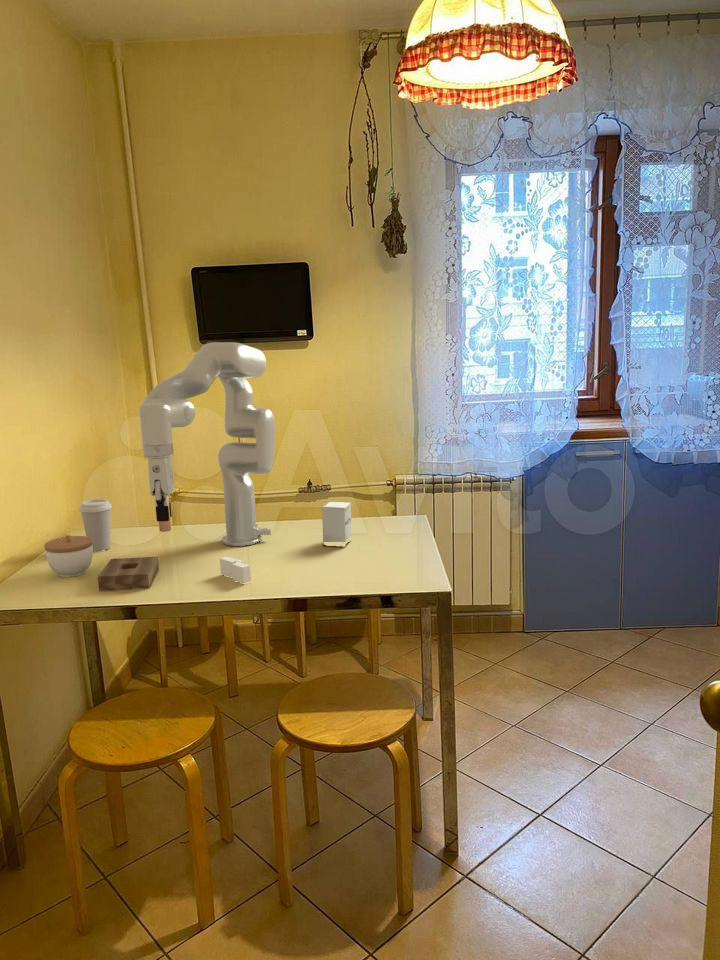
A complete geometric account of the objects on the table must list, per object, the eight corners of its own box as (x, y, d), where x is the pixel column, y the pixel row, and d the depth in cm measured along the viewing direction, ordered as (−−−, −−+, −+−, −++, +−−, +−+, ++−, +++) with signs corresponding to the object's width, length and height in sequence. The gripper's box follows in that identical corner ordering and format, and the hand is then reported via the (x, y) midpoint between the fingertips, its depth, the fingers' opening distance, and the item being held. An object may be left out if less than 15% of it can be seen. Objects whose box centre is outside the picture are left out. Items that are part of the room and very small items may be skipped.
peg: (172, 528, 200) (168, 491, 198) (170, 531, 197) (167, 494, 195) (160, 528, 200) (157, 492, 198) (158, 532, 197) (155, 495, 195)
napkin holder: (214, 574, 209) (213, 554, 208) (255, 571, 211) (254, 551, 210) (213, 592, 195) (211, 571, 194) (257, 589, 197) (255, 568, 195)
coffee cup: (120, 544, 239) (115, 498, 236) (109, 553, 230) (105, 505, 227) (90, 544, 239) (85, 498, 236) (78, 553, 230) (73, 505, 227)
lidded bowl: (50, 583, 204) (46, 544, 201) (45, 570, 214) (41, 533, 212) (99, 575, 209) (95, 537, 207) (91, 563, 220) (87, 526, 218)
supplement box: (345, 548, 229) (344, 507, 226) (322, 546, 231) (321, 506, 228) (352, 541, 236) (351, 502, 233) (330, 539, 238) (328, 501, 235)
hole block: (159, 570, 212) (158, 556, 212) (149, 588, 198) (148, 573, 197) (112, 572, 211) (111, 558, 211) (98, 591, 197) (97, 576, 196)
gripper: (167, 455, 186) (174, 526, 190) (177, 444, 202) (183, 510, 206) (137, 457, 186) (143, 528, 190) (149, 445, 202) (155, 511, 206)
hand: (164, 518), depth 198 cm, fingers closed on peg, 3 cm apart
